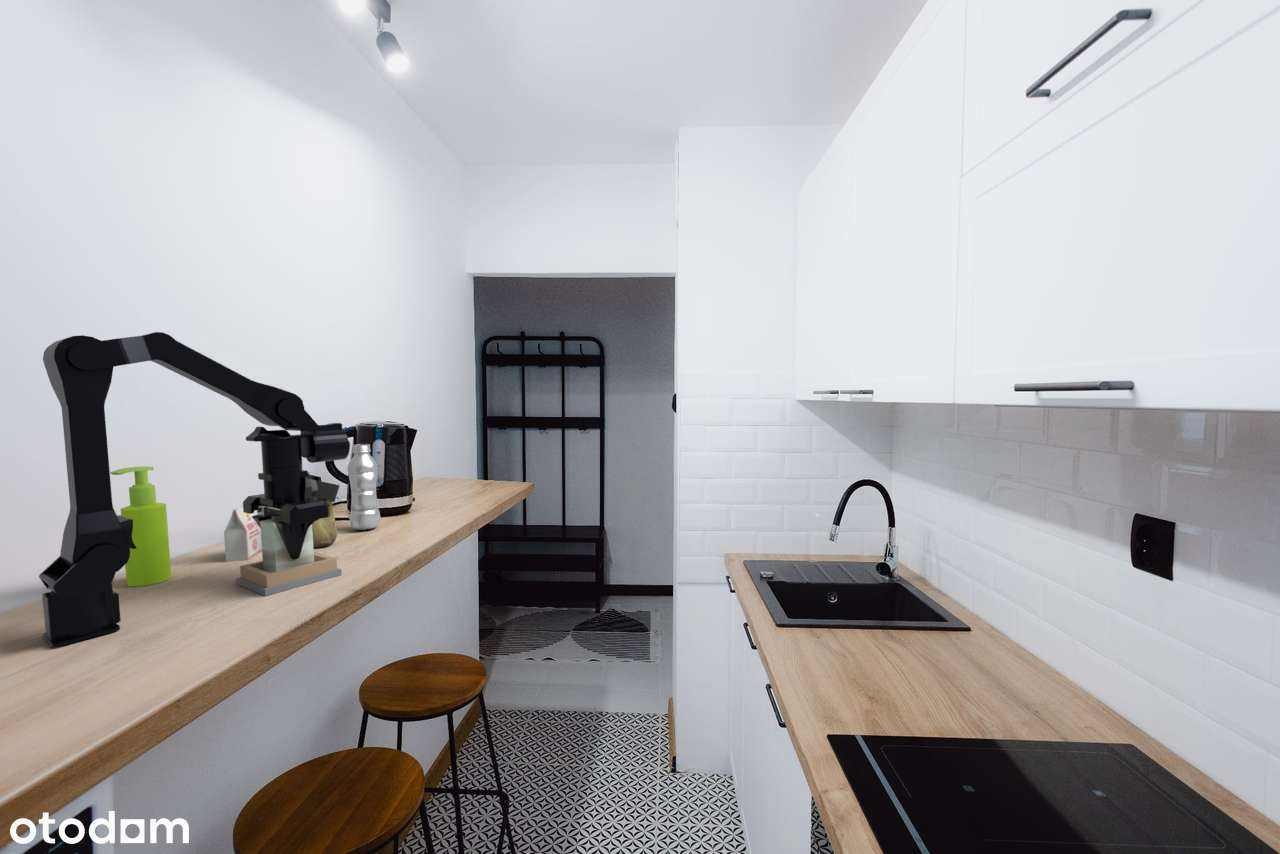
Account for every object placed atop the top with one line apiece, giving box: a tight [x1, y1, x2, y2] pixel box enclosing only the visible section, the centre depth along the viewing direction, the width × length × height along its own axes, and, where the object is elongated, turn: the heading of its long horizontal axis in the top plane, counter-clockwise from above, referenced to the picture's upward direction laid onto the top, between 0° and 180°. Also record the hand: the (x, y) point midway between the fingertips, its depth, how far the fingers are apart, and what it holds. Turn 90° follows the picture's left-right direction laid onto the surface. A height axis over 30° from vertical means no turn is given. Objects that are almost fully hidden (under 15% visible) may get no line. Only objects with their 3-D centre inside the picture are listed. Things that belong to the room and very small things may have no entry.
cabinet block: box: [260, 515, 315, 573], centre depth 97 cm, size 6×5×10 cm
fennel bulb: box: [312, 497, 338, 548], centre depth 119 cm, size 6×5×12 cm
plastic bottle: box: [347, 443, 381, 531], centre depth 133 cm, size 6×7×20 cm
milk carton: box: [223, 505, 262, 563], centre depth 112 cm, size 4×7×10 cm, turn 14°
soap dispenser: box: [110, 466, 172, 587], centre depth 97 cm, size 6×7×20 cm
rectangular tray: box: [235, 551, 342, 597], centre depth 97 cm, size 12×11×3 cm
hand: (288, 556), depth 97 cm, fingers closed on cabinet block, 5 cm apart
